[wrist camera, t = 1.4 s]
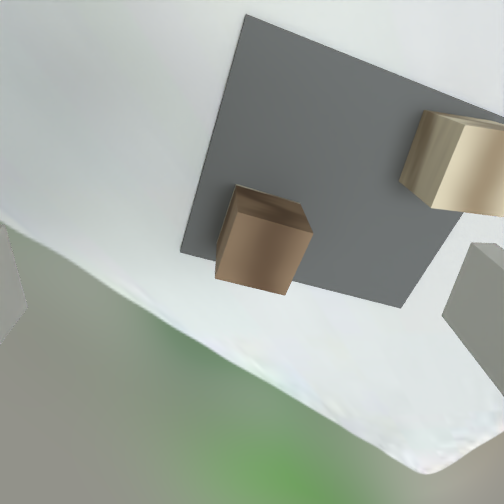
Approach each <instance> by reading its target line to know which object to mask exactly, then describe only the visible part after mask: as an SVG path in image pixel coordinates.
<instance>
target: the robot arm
mask: <svg viewBox="0 0 504 504" xmlns="http://www.w3.org/2000/svg"><path fill="white" fill-rule="evenodd" d="M27 308H28V305H27V301H26V298H25V295H24V291H23V287H22V284H21V280H20V276H19V273H18V269H17V266H16V262H15V258H14V255H13V251H12V247H11V244H10V240H9V237H8V233H7V230H6V226H5V225H0V344H1V343H2V342H3V340H4V339H5V338H6V336H7V335H8V333H9V332H10V331H11V329H12V328H13V327H14V325H15V324H16V323H17V321H18V320H19V319H20V317H21V316H22V315H23V313H24V312H25V311H26V309H27ZM442 317H443V318H444V319H445V321H446V322H447V323H448V325H449V326H450V327H451V328H452V330H453V331H454V332H455V334H456V335H457V336H458V338H459V339H460V340H461V341H462V343H463V344H464V345H465V347H466V348H467V349H468V351H469V352H470V353H471V354H472V356H473V357H474V358H475V360H476V361H477V362H478V364H479V365H480V366H481V367H482V369H483V370H484V371H485V373H486V374H487V375H488V377H489V378H490V379H491V380H492V382H493V383H494V384H495V386H496V387H497V388H498V389H499V391H500V392H501V393H502V395H503V396H504V249H502V248H501V247H500V246H498V245H497V244H496V243H473V242H471V244H470V247H469V249H468V252H467V254H466V257H465V259H464V262H463V264H462V267H461V269H460V272H459V274H458V276H457V279H456V281H455V284H454V286H453V289H452V291H451V294H450V296H449V299H448V301H447V304H446V306H445V308H444V311H443V313H442Z"/></svg>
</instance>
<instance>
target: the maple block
mask: <svg viewBox="0 0 504 504" xmlns="http://www.w3.org/2000/svg"><path fill="white" fill-rule="evenodd" d="M399 182H400V183H402V184H403V185H404V186H405V187H406V188H408V189H409V190H410V191H411V192H412V193H413V194H415V195H416V196H417V197H418V198H419V199H421V200H422V201H423V202H424V203H425V204H427V205H428V206H429V207H430V208H435V209H443V210H451V211H458V212H466V213H474V214H482V215H490V216H498V217H504V124H501V123H498V122H495V121H491V120H485V119H479V118H473V117H466V116H460V115H454V114H448V113H441V112H435V111H429V110H424V111H423V114H422V117H421V120H420V123H419V125H418V128H417V131H416V134H415V137H414V140H413V142H412V145H411V148H410V151H409V154H408V156H407V159H406V162H405V165H404V168H403V171H402V173H401V176H400V179H399Z"/></svg>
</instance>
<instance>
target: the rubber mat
mask: <svg viewBox="0 0 504 504" xmlns="http://www.w3.org/2000/svg"><path fill="white" fill-rule="evenodd" d="M424 110H429V111H435V112H441V113H448V114H454V115H460V116H466V117H473V118H479V119H485V120H491V121H495V122H498V123H501V124H504V117H502V116H499V115H497V114H494V113H492V112H489V111H487V110H484V109H482V108H479V107H477V106H474V105H472V104H469V103H467V102H464V101H462V100H459V99H457V98H454V97H452V96H449V95H447V94H444V93H442V92H439V91H437V90H434V89H432V88H429V87H427V86H424V85H422V84H419V83H417V82H414V81H412V80H409V79H407V78H404V77H402V76H399V75H397V74H394V73H392V72H389V71H387V70H384V69H382V68H379V67H377V66H374V65H372V64H369V63H367V62H364V61H362V60H359V59H357V58H354V57H352V56H349V55H347V54H344V53H342V52H339V51H337V50H334V49H332V48H329V47H327V46H324V45H322V44H319V43H317V42H314V41H312V40H309V39H307V38H304V37H302V36H299V35H297V34H294V33H292V32H289V31H287V30H284V29H282V28H279V27H277V26H274V25H272V24H270V23H267V22H265V21H262V20H260V19H257V18H255V17H252V16H250V15H247V14H246V17H245V21H244V24H243V28H242V31H241V35H240V38H239V42H238V46H237V49H236V53H235V56H234V60H233V64H232V67H231V71H230V74H229V78H228V82H227V85H226V89H225V92H224V96H223V100H222V103H221V107H220V110H219V114H218V117H217V121H216V125H215V128H214V132H213V135H212V139H211V143H210V146H209V150H208V153H207V157H206V161H205V164H204V168H203V171H202V175H201V179H200V182H199V186H198V189H197V193H196V197H195V200H194V204H193V207H192V211H191V214H190V218H189V222H188V225H187V229H186V232H185V236H184V240H183V243H182V247H181V250H180V252H181V253H185V254H189V255H192V256H196V257H200V258H204V259H208V260H212V261H216V247H217V240H218V237H219V234H220V231H221V228H222V225H223V222H224V219H225V216H226V213H227V210H228V207H229V204H230V201H231V198H232V194H233V191H234V188H235V185H236V184H238V185H242V186H245V187H248V188H252V189H255V190H258V191H262V192H265V193H268V194H272V195H275V196H278V197H281V198H285V199H288V200H291V201H295V202H298V203H300V204H301V206H302V208H303V211H304V213H305V215H306V218H307V220H308V222H309V224H310V227H311V229H312V231H313V236H312V238H311V240H310V242H309V245H308V247H307V249H306V251H305V253H304V255H303V258H302V260H301V262H300V264H299V266H298V268H297V271H296V273H295V275H294V277H293V279H292V281H295V282H299V283H303V284H307V285H311V286H315V287H319V288H322V289H326V290H330V291H334V292H338V293H342V294H346V295H350V296H354V297H358V298H362V299H366V300H370V301H374V302H378V303H382V304H386V305H389V306H393V307H397V308H401V307H402V306H403V304H404V303H405V301H406V300H407V298H408V297H409V295H410V294H411V292H412V290H413V289H414V287H415V286H416V284H417V283H418V281H419V280H420V278H421V277H422V275H423V274H424V272H425V271H426V269H427V268H428V266H429V264H430V263H431V261H432V260H433V258H434V257H435V255H436V254H437V252H438V251H439V249H440V248H441V246H442V245H443V243H444V242H445V240H446V238H447V237H448V235H449V234H450V232H451V231H452V229H453V228H454V226H455V225H456V223H457V222H458V220H459V219H460V217H461V216H462V214H463V212H458V211H451V210H443V209H435V208H430V207H429V206H428V205H427V204H425V203H424V202H423V201H422V200H421V199H419V198H418V197H417V196H416V195H415V194H413V193H412V192H411V191H410V190H409V189H408V188H406V187H405V186H404V185H403V184H402V183H400V182H399V179H400V176H401V173H402V171H403V168H404V165H405V162H406V159H407V156H408V154H409V151H410V148H411V145H412V142H413V140H414V137H415V134H416V131H417V128H418V125H419V123H420V120H421V117H422V114H423V111H424Z"/></svg>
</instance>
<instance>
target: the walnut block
mask: <svg viewBox="0 0 504 504" xmlns="http://www.w3.org/2000/svg"><path fill="white" fill-rule="evenodd" d="M312 236H313V231H312V229H311V227H310V224H309V222H308V220H307V218H306V215H305V213H304V211H303V208H302V206H301V204H300V203H298V202H295V201H291V200H288V199H285V198H281V197H278V196H275V195H272V194H268V193H265V192H262V191H258V190H255V189H252V188H248V187H245V186H242V185H238V184H236V185H235V188H234V191H233V194H232V198H231V201H230V204H229V207H228V210H227V213H226V216H225V219H224V222H223V225H222V228H221V231H220V234H219V237H218V240H217V247H216V266H215V279H219V280H223V281H227V282H231V283H235V284H240V285H244V286H248V287H252V288H256V289H260V290H264V291H268V292H272V293H276V294H281V295H286V292H287V290H288V288H289V286H290V284H291V282H292V279H293V277H294V275H295V273H296V271H297V268H298V266H299V264H300V262H301V260H302V258H303V255H304V253H305V251H306V249H307V247H308V245H309V242H310V240H311V238H312Z"/></svg>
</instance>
